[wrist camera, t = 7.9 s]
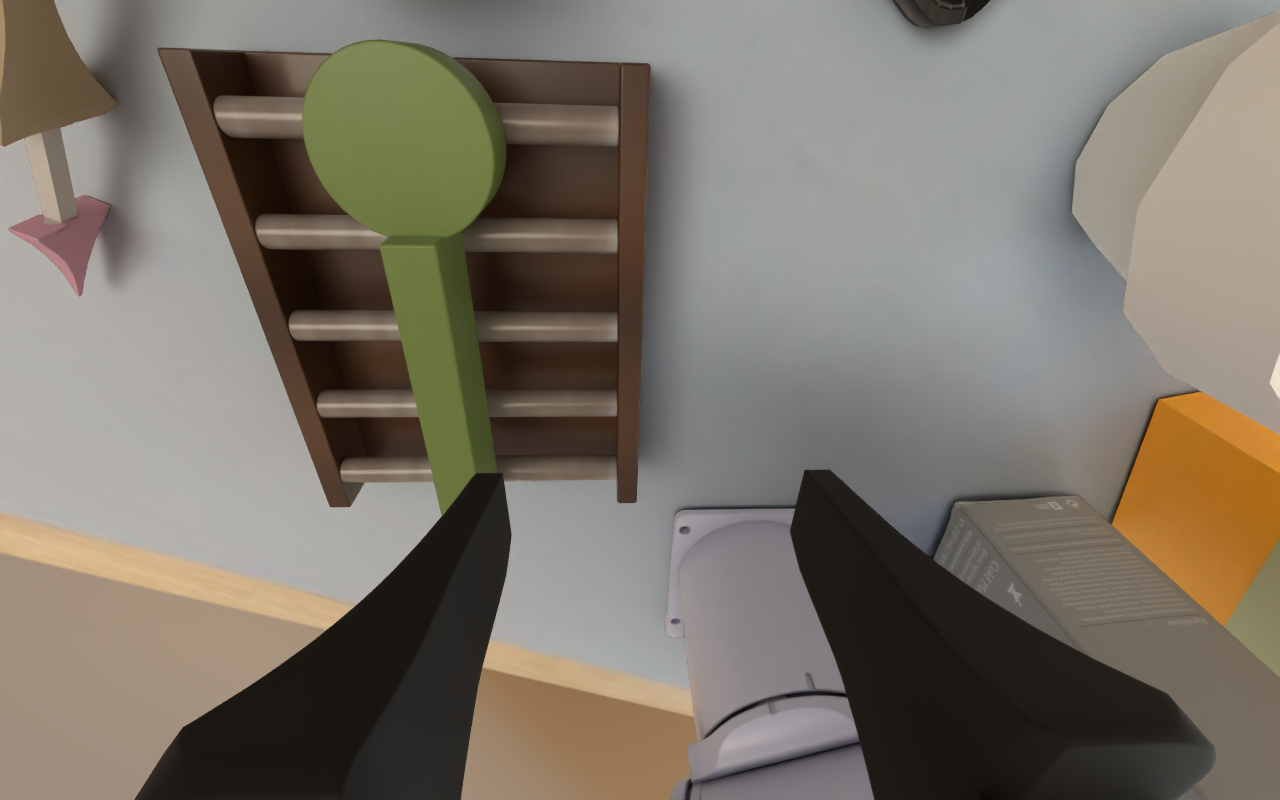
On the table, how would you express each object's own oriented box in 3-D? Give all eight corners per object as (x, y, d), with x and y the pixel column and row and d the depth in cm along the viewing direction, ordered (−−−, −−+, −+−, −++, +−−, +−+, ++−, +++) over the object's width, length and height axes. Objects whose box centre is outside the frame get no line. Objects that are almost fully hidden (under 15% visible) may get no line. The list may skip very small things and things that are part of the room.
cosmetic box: (951, 495, 26) (1315, 955, 13) (1094, 489, 26) (1602, 934, 13) (908, 607, 30) (1142, 1033, 17) (1030, 600, 31) (1356, 1016, 17)
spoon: (539, 484, 21) (530, 534, 19) (423, 485, 20) (400, 536, 18) (496, 45, 13) (474, 41, 11) (313, 39, 13) (252, 34, 11)
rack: (634, 457, 24) (637, 503, 22) (359, 459, 23) (329, 507, 21) (644, 63, 16) (651, 63, 14) (230, 50, 15) (155, 47, 13)
